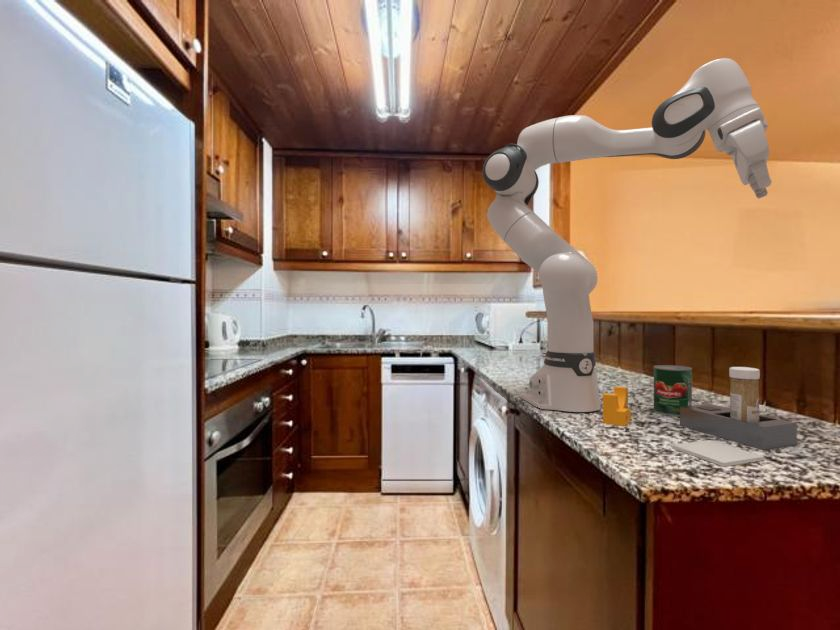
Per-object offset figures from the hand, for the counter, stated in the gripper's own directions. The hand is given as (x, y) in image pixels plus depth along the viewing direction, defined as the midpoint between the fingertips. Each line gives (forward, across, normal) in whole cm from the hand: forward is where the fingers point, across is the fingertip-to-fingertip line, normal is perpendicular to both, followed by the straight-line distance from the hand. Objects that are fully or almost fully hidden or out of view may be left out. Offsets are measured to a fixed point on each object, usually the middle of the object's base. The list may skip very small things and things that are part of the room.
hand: (764, 191), depth 81 cm
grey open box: (+45, +8, -19) cm, 49 cm away
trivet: (+44, +24, -21) cm, 54 cm away
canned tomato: (+42, -5, -30) cm, 52 cm away
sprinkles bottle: (+46, +9, -18) cm, 50 cm away
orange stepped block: (+39, +9, -39) cm, 56 cm away
